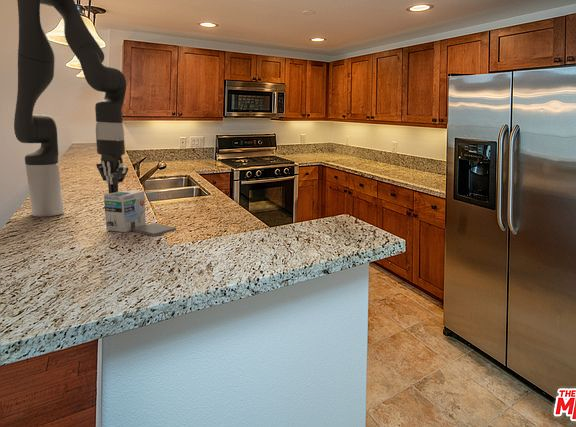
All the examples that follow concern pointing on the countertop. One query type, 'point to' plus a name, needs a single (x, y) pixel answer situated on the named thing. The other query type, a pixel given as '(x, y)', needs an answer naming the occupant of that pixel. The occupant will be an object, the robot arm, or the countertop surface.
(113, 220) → the light bulb box
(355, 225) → the countertop surface
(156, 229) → the plate
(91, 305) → the countertop surface
